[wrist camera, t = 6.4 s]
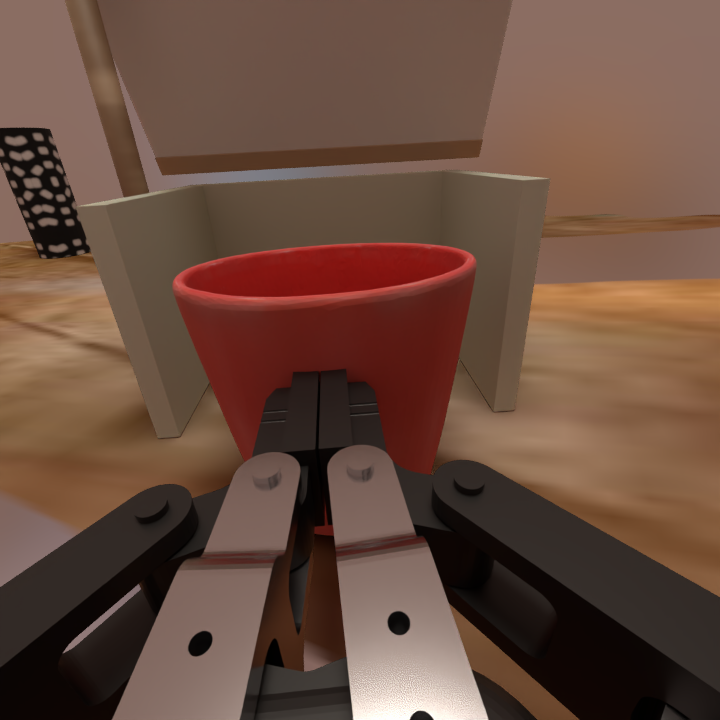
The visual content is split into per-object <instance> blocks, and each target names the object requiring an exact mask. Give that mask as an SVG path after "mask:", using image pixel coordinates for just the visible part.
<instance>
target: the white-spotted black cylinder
mask: <svg viewBox="0 0 720 720" xmlns="http://www.w3.org/2000/svg"><path fill="white" fill-rule="evenodd" d="M0 163H1V165H2V167H3V170H4V172H5V175H6V177H7V179H8V182H9V184H10V186H11V189H12V191H13V194H14V196H15V199H16V201H17V203H18V206H19V208H20V210H21V213H22V215H23V218H24V220H25V223H26V225H27V227H28V230H29V232H30V235H31V237H32V239H33V242H34V244H35V246H36V249H37V251H38V254H39V256H40V258H62V257H69V256H75V255H80V254H84V253H88V252H90V251H91V249H90V246H89V244H88V241H87V238H86V235H85V232H84V230H83V227H82V224H81V221H80V218H79V216H78V213H77V210H76V207H77V204H76V202H75V199H74V196H73V193H72V190H71V187H70V185H69V182H68V179H67V176H66V173H65V171H64V168H63V165H62V162H61V159H60V157H59V154H58V151H57V148H56V145H55V143H54V140H53V137H52V134H51V131H50V129H45V128H0Z"/></svg>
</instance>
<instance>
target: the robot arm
mask: <svg viewBox="0 0 720 720" xmlns="http://www.w3.org/2000/svg"><path fill="white" fill-rule="evenodd" d="M325 506H326V514H327V522H328V525H333V529H334V539H335V548H336V559H337V569H338V578H339V588H340V597H341V607H342V616H343V626H344V635H345V645H346V654H347V657H344V658H342V659H339V660H337V661H335V662H332V663H330V664H327V665H325V666H323V667H320V668H318V669H316V670H313V671H308V672H304V657H303V655H304V638H305V629H306V621H307V612H308V603H309V595H310V586H311V577H312V569H313V560H314V555H313V547H314V532H315V527H317V526H325ZM138 584H139V585H140V587H141V590H140V591H139V592H138V593H136V594H135V595H134V596H133V597H132V598H131V599H129V600H128V601H127V602H126V603H125V604H124V605H123V606H121V607H120V608H119V609H118V610H117V611H116V612H115V613H113V614H112V615H111V616H110V617H109V618H108V619H106V620H105V621H104V622H103V623H102V624H101V625H99V626H98V627H97V628H96V629H95V630H94V631H93V632H91V633H90V634H89V635H88V636H87V637H86V638H84V639H83V640H82V641H81V642H80V643H79V644H78V645H76V646H75V647H74V648H72V649H71V650H69V651H67V652H65V653H63V652H64V650H65V649H66V647H67V646H68V645H69V644H70V643H71V642H72V640H74V639H75V638H76V637H77V636H78V635H79V634H80V633H82V632H83V631H84V630H85V629H86V628H87V627H89V626H90V625H91V624H92V623H93V622H94V621H96V620H97V619H98V618H99V617H100V616H101V615H103V614H104V613H105V612H106V611H107V610H108V609H109V608H111V607H112V606H113V605H114V604H115V603H117V602H118V601H119V600H120V599H121V598H122V597H124V596H125V595H126V594H127V593H128V592H130V591H131V590H132V589H133V588H134V587H135V586H137V585H138ZM449 604H450V605H452V606H453V607H454V608H455V609H456V610H457V611H458V612H459V613H461V614H462V615H463V616H464V617H465V618H466V619H467V620H468V621H470V622H471V623H472V624H473V625H474V626H475V627H476V628H477V629H478V630H480V631H481V632H482V633H483V634H484V635H485V636H486V637H487V638H489V639H490V640H491V641H492V642H493V643H494V644H495V645H496V646H498V647H499V648H500V649H501V650H502V651H503V652H504V653H505V654H507V655H508V656H509V657H510V658H511V659H512V660H513V661H514V662H516V663H517V664H518V665H519V666H520V667H521V668H522V669H523V670H525V671H526V672H527V673H528V674H529V675H530V676H531V677H532V678H534V679H535V680H536V681H537V682H538V683H539V684H540V685H541V686H543V687H544V688H545V689H546V690H547V691H548V692H549V693H550V694H551V695H553V696H554V697H555V698H556V699H557V700H558V701H559V702H560V703H562V704H563V705H564V706H565V707H566V708H567V709H568V710H569V711H571V712H572V713H573V714H574V715H575V716H576V717H577V718H578V719H580V720H720V597H718V596H717V595H715V594H713V593H711V592H710V591H708V590H706V589H704V588H702V587H701V586H699V585H697V584H695V583H694V582H692V581H690V580H688V579H686V578H685V577H683V576H681V575H679V574H678V573H676V572H674V571H672V570H670V569H669V568H667V567H665V566H663V565H662V564H660V563H658V562H656V561H655V560H653V559H651V558H649V557H647V556H646V555H644V554H642V553H640V552H639V551H637V550H635V549H633V548H631V547H630V546H628V545H626V544H624V543H623V542H621V541H619V540H617V539H615V538H614V537H612V536H610V535H608V534H607V533H605V532H603V531H601V530H600V529H598V528H596V527H594V526H592V525H591V524H589V523H587V522H585V521H584V520H582V519H580V518H578V517H576V516H575V515H573V514H571V513H569V512H568V511H566V510H564V509H562V508H560V507H559V506H557V505H555V504H553V503H552V502H550V501H548V500H546V499H545V498H543V497H541V496H539V495H537V494H536V493H534V492H532V491H530V490H529V489H527V488H525V487H523V486H521V485H520V484H518V483H516V482H514V481H513V480H511V479H509V478H507V477H505V476H504V475H502V474H500V473H498V472H497V471H495V470H493V469H491V468H490V467H488V466H486V465H484V464H481V463H478V462H474V461H469V460H456V461H451V462H448V463H445V464H443V465H442V466H440V467H439V468H438V469H437V470H436V472H435V473H434V475H429V474H423V473H417V472H413V471H410V470H407V469H404V468H402V467H400V466H399V465H397V464H396V463H395V462H394V461H393V460H392V459H391V458H390V456H389V455H388V453H387V450H386V445H385V440H384V435H383V430H382V425H381V420H380V415H379V410H378V405H377V400H376V395H375V390H374V389H373V388H372V387H371V386H370V385H369V384H368V383H367V382H366V381H364V382H351V383H347V372H346V369H338V370H328V371H321V385H320V380H319V371H310V372H293V376H292V383H291V387H287V388H276V389H275V390H274V391H273V392H272V393H271V394H270V395H269V397H268V398H267V399H266V402H265V406H264V410H263V414H262V418H261V423H260V426H259V430H258V434H257V438H256V442H255V446H254V450H253V454H252V458H251V459H249V460H247V461H246V462H244V463H243V464H242V465H241V466H240V467H239V468H238V469H237V471H236V472H235V474H234V476H233V479H232V482H231V484H230V485H228V486H226V487H224V488H222V489H219V490H216V491H213V492H210V493H207V494H204V495H201V496H198V497H195V498H192V497H191V494H190V492H189V491H188V490H187V489H186V488H185V487H183V486H180V485H176V484H164V485H158V486H155V487H152V488H149V489H146V490H144V491H142V492H140V493H138V494H137V495H135V496H134V497H132V498H131V499H129V500H128V501H126V502H125V503H123V504H122V505H120V506H119V507H117V508H116V509H114V510H113V511H111V512H110V513H109V514H107V515H106V516H104V517H103V518H101V519H100V520H98V521H97V522H95V523H94V524H92V525H91V526H89V527H88V528H87V529H85V530H84V531H82V532H81V533H79V534H78V535H76V536H75V537H73V538H72V539H71V540H69V541H67V542H66V543H64V544H63V545H62V546H60V547H59V548H58V549H56V550H54V551H53V552H51V553H50V554H48V555H47V556H45V557H44V558H43V559H41V560H40V561H38V562H37V563H35V564H34V565H32V566H31V567H29V568H28V569H26V570H25V571H24V572H22V573H21V574H19V575H18V576H16V577H15V578H13V579H12V580H10V581H9V582H7V583H6V584H4V585H3V586H2V587H0V720H537V719H536V718H535V717H534V716H533V715H532V714H531V713H530V712H529V711H528V710H527V709H526V708H525V707H524V706H523V705H522V704H521V703H520V702H519V701H518V700H516V699H515V698H514V697H513V696H512V695H510V694H509V693H508V692H507V691H505V690H504V689H503V688H502V687H501V686H499V685H498V684H496V683H495V682H493V681H491V680H490V679H488V678H487V677H485V676H484V675H482V674H480V673H478V672H476V671H474V670H472V669H471V667H470V664H469V661H468V658H467V655H466V653H465V650H464V647H463V644H462V641H461V638H460V635H459V632H458V629H457V626H456V624H455V621H454V618H453V615H452V612H451V609H450V606H449ZM62 653H63V654H62Z"/></svg>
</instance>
